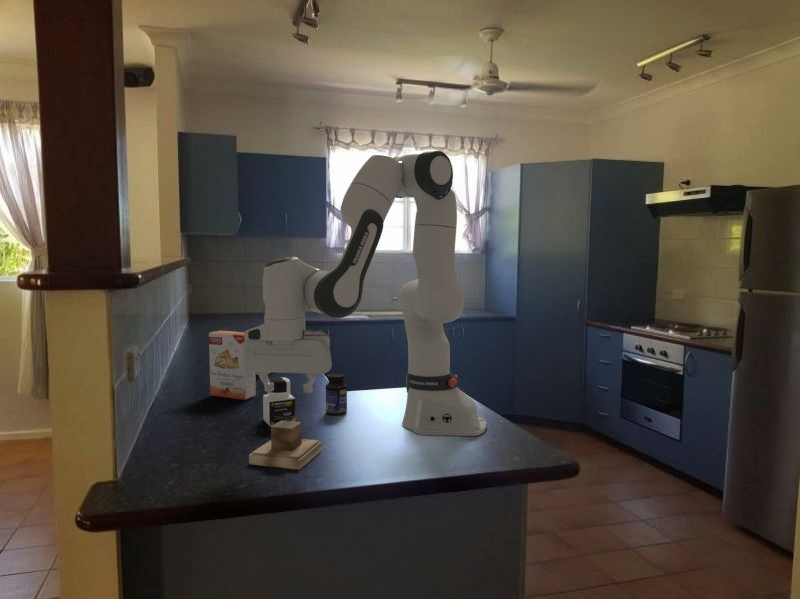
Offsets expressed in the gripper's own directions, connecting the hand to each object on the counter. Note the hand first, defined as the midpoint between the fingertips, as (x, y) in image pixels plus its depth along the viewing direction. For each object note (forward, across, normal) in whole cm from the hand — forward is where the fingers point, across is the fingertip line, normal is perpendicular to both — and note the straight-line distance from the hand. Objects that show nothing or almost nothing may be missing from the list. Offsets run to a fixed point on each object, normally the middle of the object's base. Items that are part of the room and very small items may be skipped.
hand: (288, 391), depth 123 cm
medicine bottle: (+15, +15, -23) cm, 31 cm away
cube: (+12, +1, +1) cm, 12 cm away
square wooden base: (+15, +1, +1) cm, 15 cm away
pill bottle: (+16, +3, -35) cm, 39 cm away
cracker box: (+15, +42, -44) cm, 63 cm away
